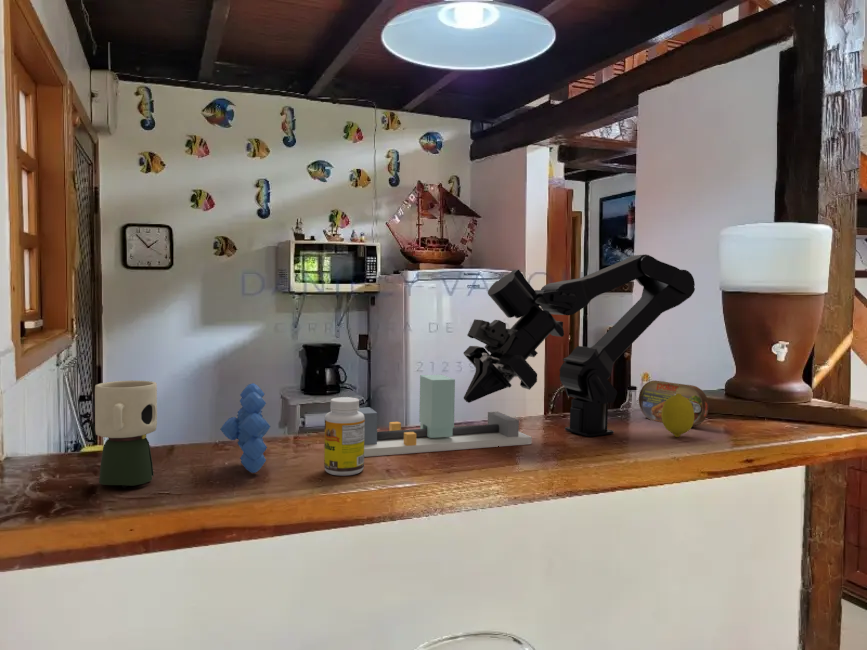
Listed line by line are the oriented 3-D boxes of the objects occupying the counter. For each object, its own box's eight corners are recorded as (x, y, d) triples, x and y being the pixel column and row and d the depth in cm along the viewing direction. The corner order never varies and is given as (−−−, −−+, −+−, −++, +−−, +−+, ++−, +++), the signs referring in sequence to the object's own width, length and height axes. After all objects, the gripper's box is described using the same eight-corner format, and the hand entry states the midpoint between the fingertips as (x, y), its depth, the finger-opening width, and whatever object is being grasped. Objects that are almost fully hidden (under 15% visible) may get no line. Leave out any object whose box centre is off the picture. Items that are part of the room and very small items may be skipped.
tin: (637, 417, 131) (638, 377, 130) (646, 416, 132) (648, 377, 132) (700, 431, 118) (702, 387, 117) (710, 429, 119) (712, 386, 119)
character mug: (149, 496, 75) (148, 389, 74) (84, 500, 73) (83, 391, 72) (163, 470, 85) (163, 377, 85) (106, 473, 83) (106, 378, 83)
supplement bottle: (320, 467, 88) (320, 397, 88) (357, 464, 90) (358, 395, 90) (329, 478, 83) (330, 403, 83) (368, 474, 85) (369, 401, 85)
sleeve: (440, 429, 107) (441, 374, 107) (453, 437, 102) (455, 379, 101) (419, 430, 106) (420, 375, 106) (431, 438, 100) (432, 380, 100)
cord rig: (504, 431, 114) (505, 398, 114) (531, 444, 105) (532, 407, 104) (344, 442, 104) (345, 405, 103) (358, 457, 94) (359, 417, 94)
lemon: (658, 438, 111) (660, 394, 111) (663, 432, 116) (664, 390, 115) (692, 442, 108) (693, 397, 108) (694, 436, 113) (696, 392, 113)
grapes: (220, 460, 91) (220, 379, 91) (267, 457, 93) (267, 378, 93) (220, 483, 80) (220, 392, 80) (273, 479, 82) (274, 390, 82)
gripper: (474, 302, 115) (417, 362, 112) (523, 305, 98) (457, 375, 95) (511, 344, 119) (456, 403, 115) (564, 353, 101) (501, 423, 98)
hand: (465, 400), depth 106 cm, fingers closed
